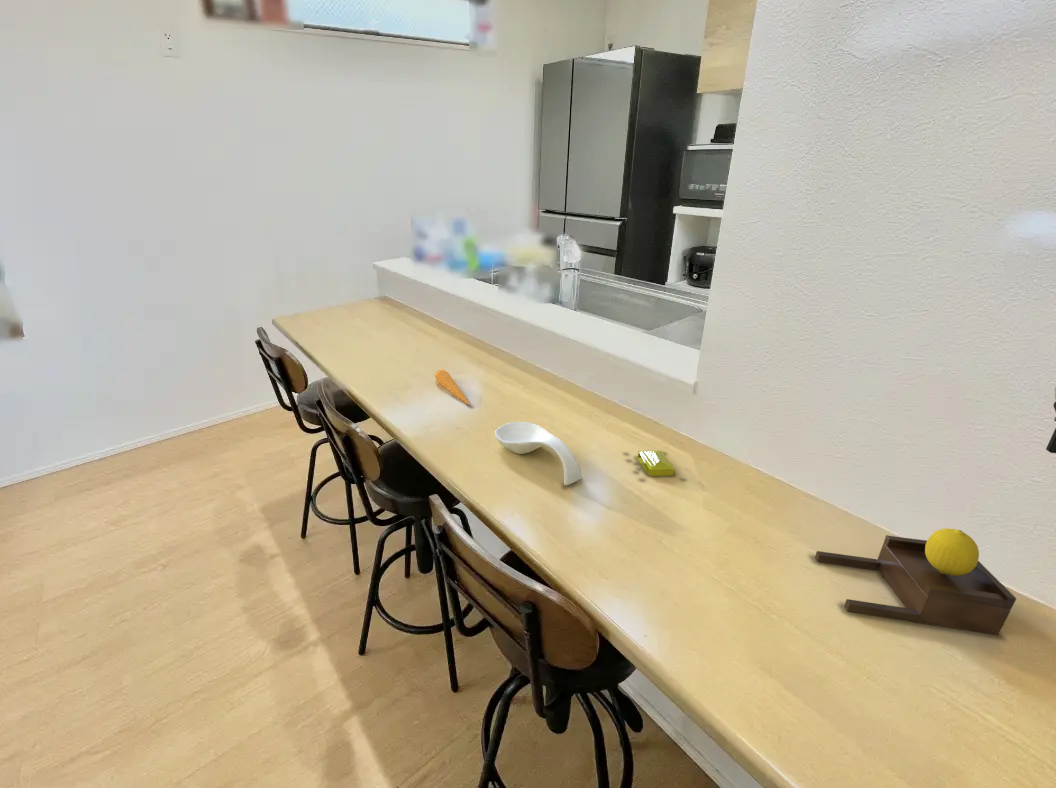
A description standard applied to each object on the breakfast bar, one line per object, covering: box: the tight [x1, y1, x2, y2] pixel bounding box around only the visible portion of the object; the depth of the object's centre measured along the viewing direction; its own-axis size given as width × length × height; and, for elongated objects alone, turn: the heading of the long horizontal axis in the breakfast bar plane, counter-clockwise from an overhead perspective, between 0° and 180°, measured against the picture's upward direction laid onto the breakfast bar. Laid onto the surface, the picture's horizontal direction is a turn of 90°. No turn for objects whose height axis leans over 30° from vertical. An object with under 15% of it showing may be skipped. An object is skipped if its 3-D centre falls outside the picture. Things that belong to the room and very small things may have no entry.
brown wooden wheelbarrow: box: [814, 535, 1017, 636], centre depth 76 cm, size 19×11×7 cm, turn 77°
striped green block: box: [629, 450, 680, 477], centre depth 109 cm, size 10×9×3 cm
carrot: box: [434, 368, 471, 406], centre depth 145 cm, size 20×4×4 cm, turn 28°
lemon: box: [925, 527, 980, 576], centre depth 73 cm, size 6×6×8 cm
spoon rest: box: [494, 421, 582, 486], centre depth 112 cm, size 24×12×7 cm, turn 34°
